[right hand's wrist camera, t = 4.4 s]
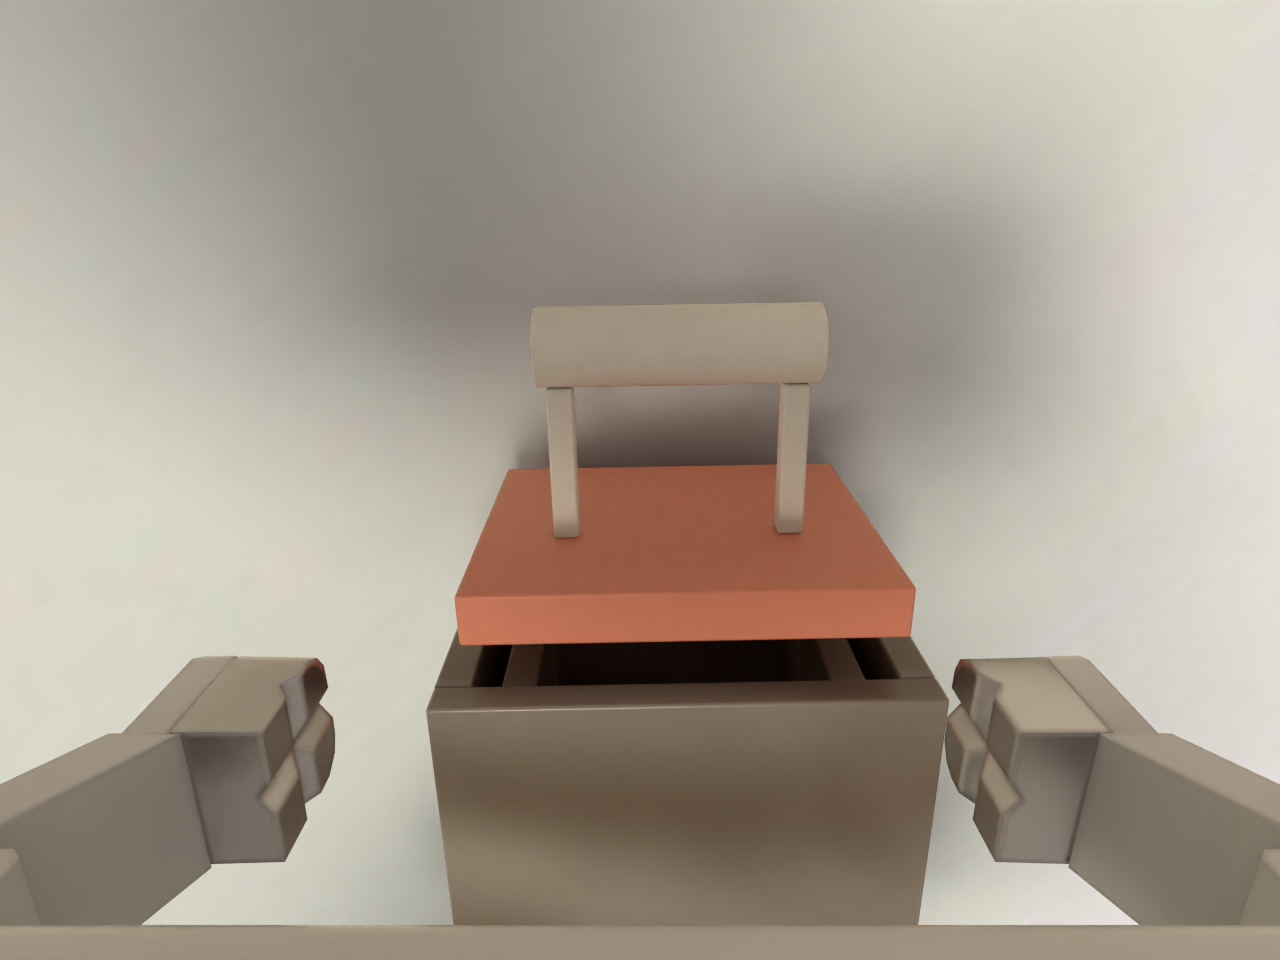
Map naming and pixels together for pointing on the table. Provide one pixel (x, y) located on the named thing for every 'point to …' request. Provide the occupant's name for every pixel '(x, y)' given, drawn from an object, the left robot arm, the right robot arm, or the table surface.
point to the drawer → (680, 522)
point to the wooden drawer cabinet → (688, 795)
